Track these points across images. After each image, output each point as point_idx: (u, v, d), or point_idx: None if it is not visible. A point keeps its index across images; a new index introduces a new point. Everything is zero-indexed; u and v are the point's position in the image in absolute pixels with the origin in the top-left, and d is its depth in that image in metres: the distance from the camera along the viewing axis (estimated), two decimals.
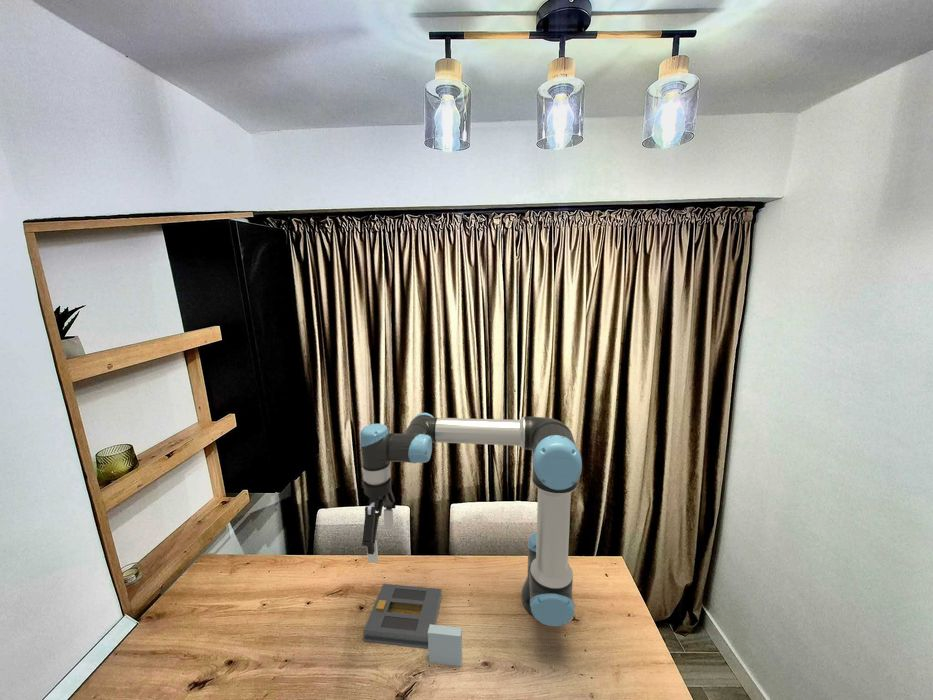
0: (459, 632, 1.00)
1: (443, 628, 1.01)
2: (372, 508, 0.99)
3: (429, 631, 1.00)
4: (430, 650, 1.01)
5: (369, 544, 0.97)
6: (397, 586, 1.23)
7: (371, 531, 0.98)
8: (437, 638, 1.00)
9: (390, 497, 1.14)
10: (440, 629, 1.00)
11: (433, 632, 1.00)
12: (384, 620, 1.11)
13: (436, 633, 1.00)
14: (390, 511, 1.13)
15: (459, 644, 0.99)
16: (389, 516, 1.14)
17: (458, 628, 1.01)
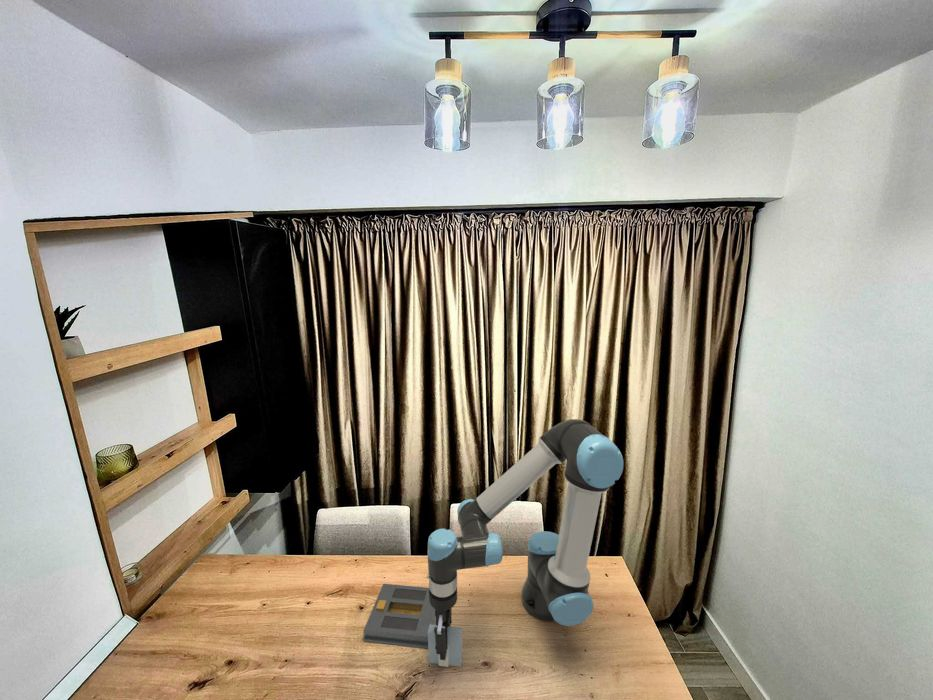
0: (459, 632, 1.00)
1: None
2: (442, 632, 0.93)
3: (429, 631, 1.00)
4: (430, 650, 1.01)
5: (443, 653, 0.96)
6: (397, 586, 1.23)
7: (444, 645, 0.95)
8: None
9: None
10: None
11: (433, 632, 1.00)
12: (384, 620, 1.11)
13: None
14: None
15: (459, 644, 0.99)
16: None
17: (458, 629, 1.01)
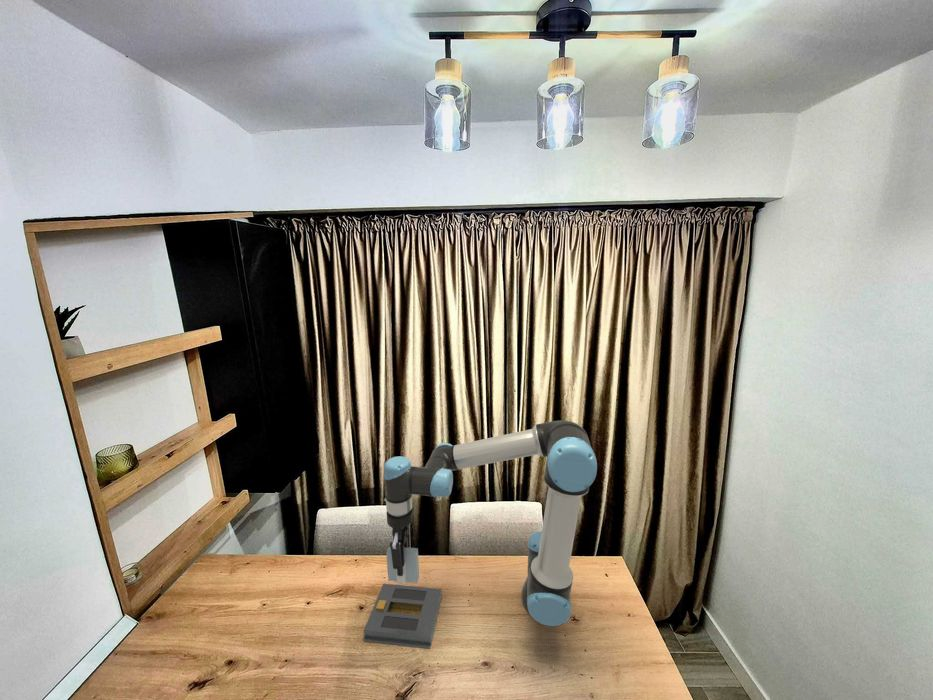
0: (415, 551, 1.10)
1: None
2: (396, 545, 1.03)
3: (388, 551, 1.10)
4: (389, 569, 1.11)
5: (399, 567, 1.06)
6: (397, 586, 1.23)
7: (399, 560, 1.05)
8: None
9: (407, 537, 1.14)
10: None
11: None
12: (384, 620, 1.11)
13: None
14: None
15: (415, 562, 1.09)
16: None
17: (414, 549, 1.11)
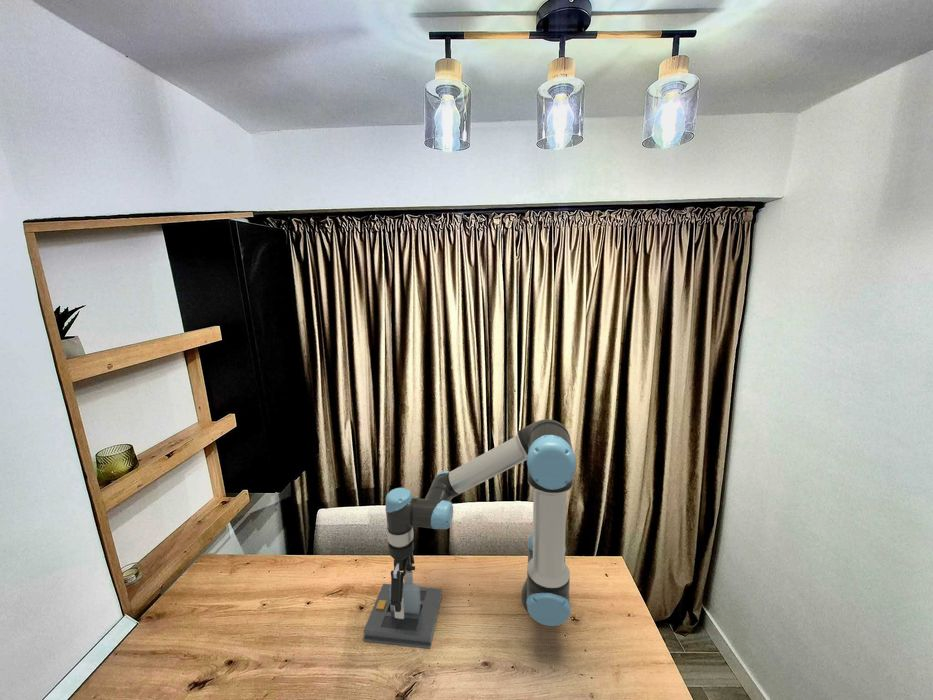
0: (417, 588, 1.13)
1: (403, 585, 1.14)
2: (397, 573, 1.04)
3: None
4: (391, 605, 1.14)
5: (397, 604, 1.05)
6: None
7: (398, 593, 1.05)
8: None
9: (410, 557, 1.18)
10: None
11: None
12: (384, 620, 1.11)
13: None
14: (410, 573, 1.18)
15: (417, 598, 1.12)
16: (409, 578, 1.18)
17: (416, 585, 1.14)
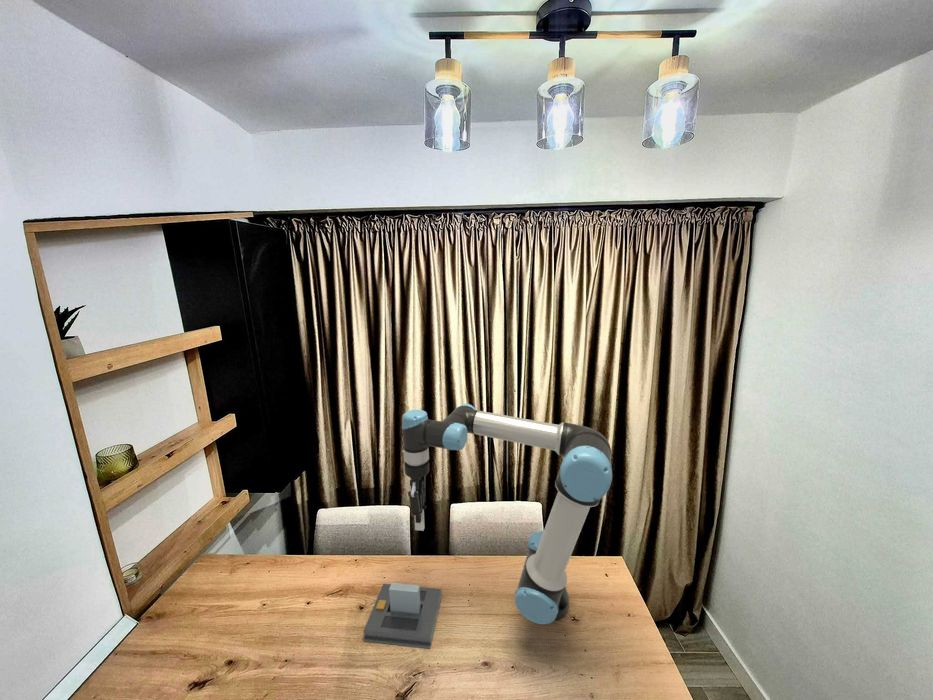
0: (417, 589, 1.13)
1: (403, 585, 1.14)
2: (415, 494, 1.07)
3: (390, 588, 1.13)
4: (391, 605, 1.14)
5: (418, 513, 1.11)
6: None
7: (418, 507, 1.10)
8: (397, 594, 1.13)
9: (423, 492, 1.17)
10: (400, 587, 1.13)
11: (393, 589, 1.13)
12: (384, 620, 1.11)
13: (396, 589, 1.12)
14: (421, 511, 1.15)
15: (416, 599, 1.12)
16: None
17: (416, 586, 1.14)
